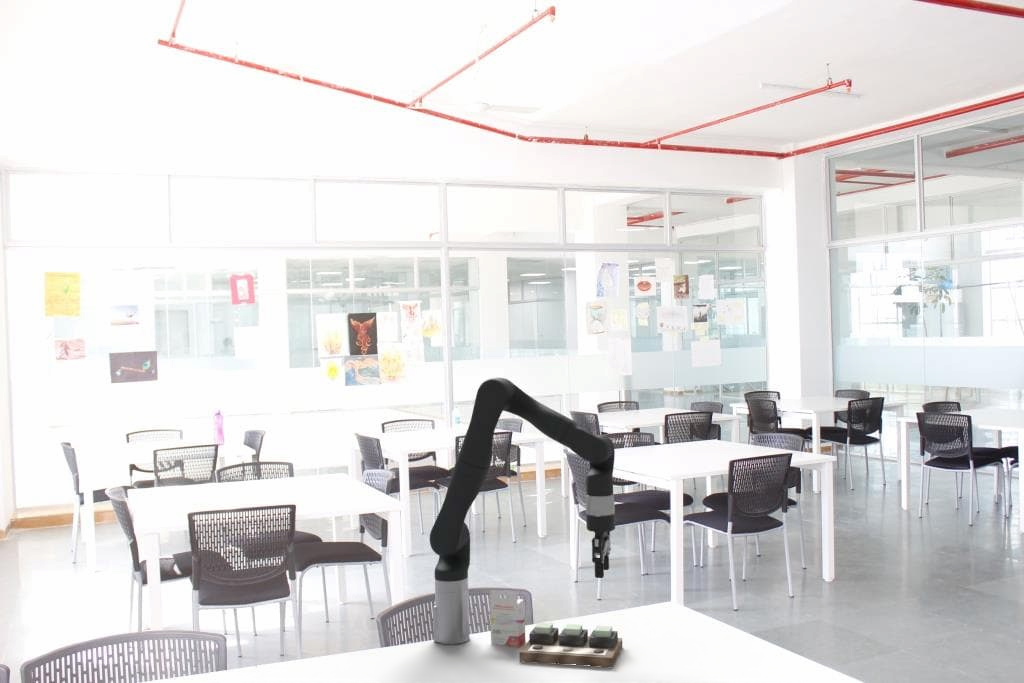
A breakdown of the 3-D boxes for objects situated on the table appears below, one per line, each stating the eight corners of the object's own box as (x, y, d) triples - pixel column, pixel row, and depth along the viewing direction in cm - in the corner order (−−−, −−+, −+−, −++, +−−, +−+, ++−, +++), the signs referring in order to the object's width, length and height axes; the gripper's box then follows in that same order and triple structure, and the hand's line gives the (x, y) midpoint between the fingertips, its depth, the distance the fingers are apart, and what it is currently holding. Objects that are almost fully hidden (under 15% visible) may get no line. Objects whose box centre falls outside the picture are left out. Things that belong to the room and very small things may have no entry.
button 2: (594, 638, 243) (594, 630, 243) (597, 633, 246) (597, 625, 246) (609, 638, 242) (609, 631, 242) (612, 634, 245) (612, 626, 245)
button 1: (534, 634, 247) (534, 627, 247) (538, 630, 251) (538, 622, 251) (549, 635, 246) (549, 627, 246) (553, 630, 250) (552, 623, 250)
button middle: (564, 636, 245) (564, 628, 245) (567, 631, 249) (567, 624, 249) (579, 637, 244) (579, 629, 244) (582, 632, 248) (582, 625, 248)
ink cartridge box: (526, 642, 255) (524, 588, 255) (519, 647, 251) (518, 592, 251) (497, 639, 258) (496, 585, 259) (490, 644, 254) (488, 590, 254)
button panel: (519, 661, 239) (519, 642, 239) (535, 642, 255) (534, 624, 255) (612, 667, 233) (611, 647, 233) (622, 647, 248) (621, 628, 248)
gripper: (591, 506, 253) (592, 566, 252) (581, 516, 239) (583, 579, 239) (618, 507, 251) (620, 567, 250) (610, 517, 237) (612, 581, 237)
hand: (602, 573), depth 245 cm, fingers open, 8 cm apart
